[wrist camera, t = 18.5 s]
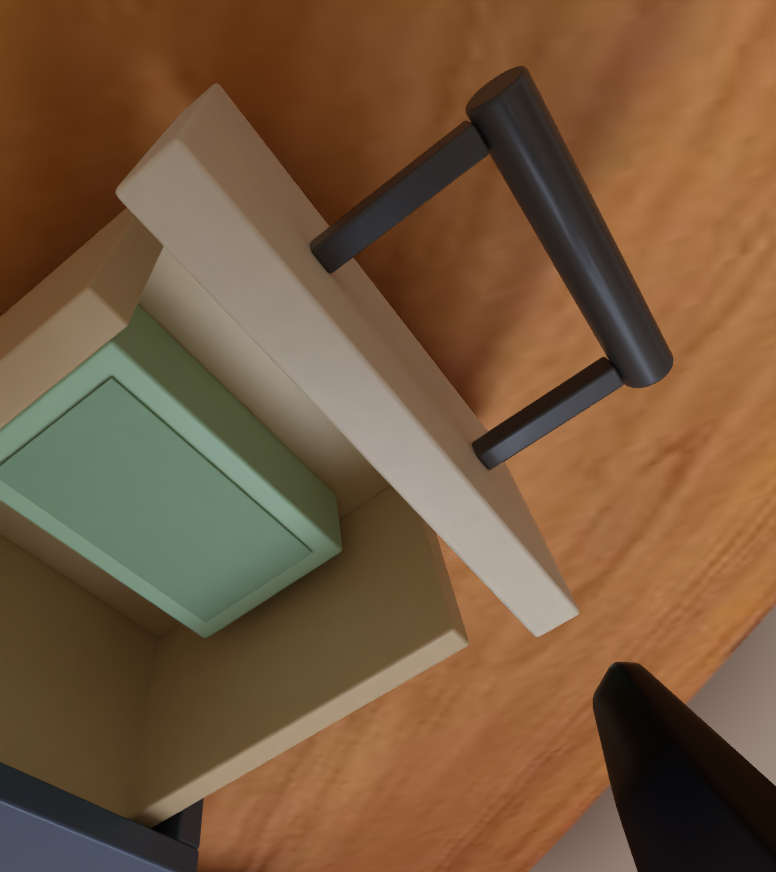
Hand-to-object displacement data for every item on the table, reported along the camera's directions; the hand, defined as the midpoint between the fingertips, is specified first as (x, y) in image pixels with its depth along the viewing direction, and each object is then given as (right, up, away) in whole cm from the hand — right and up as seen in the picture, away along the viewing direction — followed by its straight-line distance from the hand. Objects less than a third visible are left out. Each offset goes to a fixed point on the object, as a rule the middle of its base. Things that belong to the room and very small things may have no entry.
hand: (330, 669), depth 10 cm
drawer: (-3, +5, +9) cm, 11 cm away
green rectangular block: (-5, +3, +9) cm, 10 cm away
